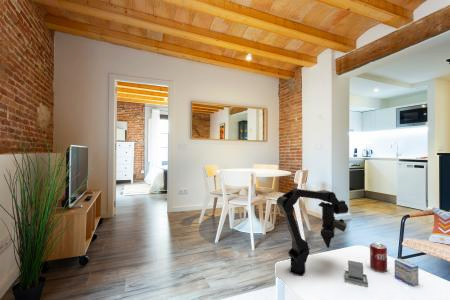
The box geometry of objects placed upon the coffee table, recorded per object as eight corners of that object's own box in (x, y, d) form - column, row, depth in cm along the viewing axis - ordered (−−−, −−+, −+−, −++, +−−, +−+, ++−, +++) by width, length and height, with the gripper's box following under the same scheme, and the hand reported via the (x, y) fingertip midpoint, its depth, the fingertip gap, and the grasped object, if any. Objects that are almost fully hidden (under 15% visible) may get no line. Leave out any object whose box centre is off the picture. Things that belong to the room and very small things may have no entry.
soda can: (390, 270, 114) (390, 247, 114) (380, 273, 112) (380, 249, 112) (376, 264, 121) (376, 241, 121) (366, 266, 118) (366, 244, 119)
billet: (348, 278, 106) (348, 263, 106) (348, 274, 110) (348, 260, 110) (363, 282, 103) (363, 266, 103) (362, 277, 107) (362, 262, 107)
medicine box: (394, 277, 109) (393, 259, 109) (400, 275, 110) (400, 257, 110) (412, 286, 101) (412, 267, 101) (419, 284, 103) (418, 265, 103)
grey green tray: (344, 281, 105) (344, 277, 105) (344, 274, 112) (344, 270, 112) (368, 287, 101) (367, 282, 101) (366, 278, 108) (366, 274, 108)
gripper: (345, 221, 107) (346, 254, 107) (345, 212, 124) (345, 240, 124) (320, 218, 112) (320, 250, 112) (323, 209, 129) (323, 237, 129)
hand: (328, 244), depth 119 cm, fingers open, 9 cm apart
